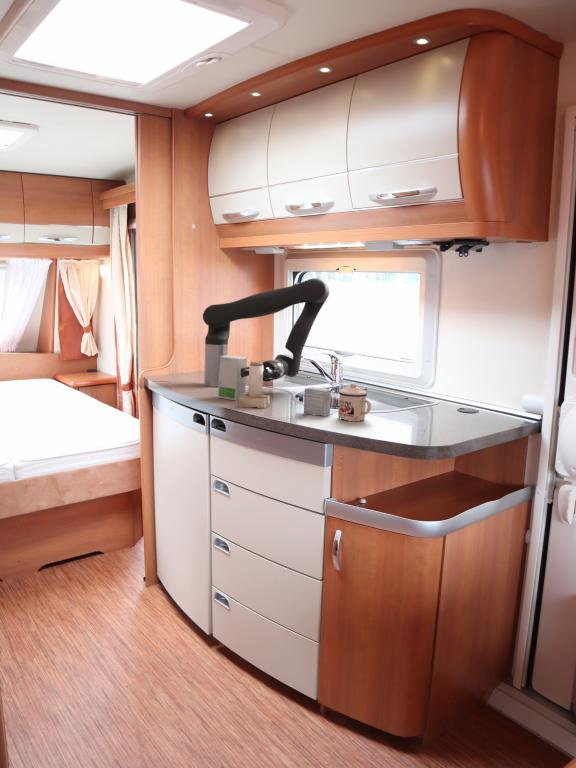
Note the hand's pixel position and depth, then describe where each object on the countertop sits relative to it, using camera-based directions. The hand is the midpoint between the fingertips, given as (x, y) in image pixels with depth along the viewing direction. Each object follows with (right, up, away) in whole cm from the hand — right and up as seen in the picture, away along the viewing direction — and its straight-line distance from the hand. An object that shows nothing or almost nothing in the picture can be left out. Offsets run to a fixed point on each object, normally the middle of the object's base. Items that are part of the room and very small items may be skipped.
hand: (253, 375), depth 212 cm
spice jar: (0, -7, +3) cm, 8 cm away
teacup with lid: (+34, -15, -13) cm, 39 cm away
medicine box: (+22, -13, -7) cm, 26 cm away
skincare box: (-9, -8, +15) cm, 19 cm away
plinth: (0, -10, +3) cm, 11 cm away
